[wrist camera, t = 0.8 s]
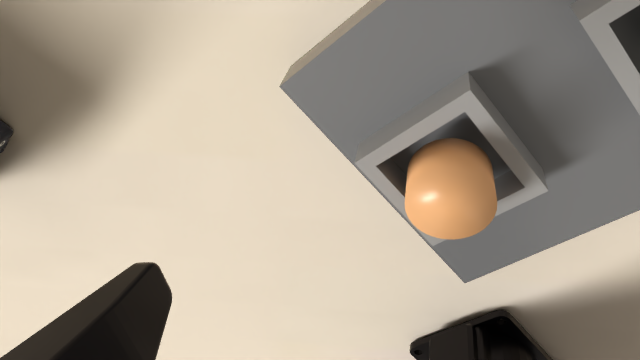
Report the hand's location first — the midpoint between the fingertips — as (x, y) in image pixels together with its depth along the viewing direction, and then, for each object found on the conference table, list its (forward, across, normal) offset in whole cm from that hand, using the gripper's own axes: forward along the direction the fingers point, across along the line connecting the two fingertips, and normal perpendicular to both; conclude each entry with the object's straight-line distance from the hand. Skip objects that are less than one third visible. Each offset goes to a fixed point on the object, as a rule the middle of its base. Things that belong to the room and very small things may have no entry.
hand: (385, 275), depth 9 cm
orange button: (+10, -1, +5) cm, 12 cm away
